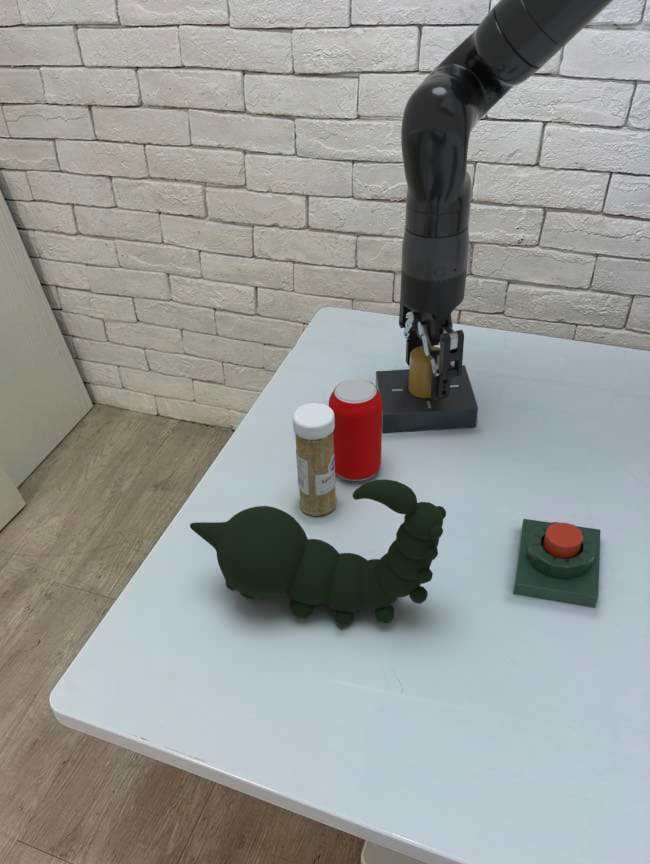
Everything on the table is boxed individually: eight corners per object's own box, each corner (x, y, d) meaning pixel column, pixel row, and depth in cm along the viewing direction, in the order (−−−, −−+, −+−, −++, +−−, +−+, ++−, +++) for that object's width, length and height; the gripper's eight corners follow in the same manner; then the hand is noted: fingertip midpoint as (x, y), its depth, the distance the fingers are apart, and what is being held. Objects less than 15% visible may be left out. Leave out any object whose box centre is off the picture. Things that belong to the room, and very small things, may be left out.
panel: (462, 383, 111) (465, 363, 108) (475, 427, 104) (478, 407, 101) (375, 389, 112) (375, 370, 109) (382, 433, 105) (383, 413, 102)
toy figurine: (425, 593, 87) (207, 547, 92) (457, 460, 73) (199, 415, 78) (413, 662, 81) (180, 609, 86) (445, 531, 67) (165, 477, 72)
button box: (521, 529, 90) (525, 506, 88) (597, 540, 88) (604, 517, 85) (512, 594, 84) (517, 572, 81) (594, 608, 81) (602, 585, 79)
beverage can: (379, 486, 97) (381, 405, 89) (328, 485, 99) (325, 405, 90) (381, 454, 102) (383, 374, 93) (332, 453, 103) (330, 374, 94)
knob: (402, 383, 107) (404, 348, 103) (433, 376, 107) (436, 340, 103) (416, 401, 104) (419, 365, 100) (448, 393, 104) (451, 357, 100)
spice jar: (336, 517, 94) (334, 425, 85) (297, 517, 95) (291, 426, 86) (336, 491, 98) (334, 400, 88) (299, 491, 98) (293, 401, 89)
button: (544, 531, 85) (547, 519, 84) (580, 537, 84) (583, 525, 83) (542, 555, 83) (544, 543, 82) (579, 561, 82) (582, 549, 80)
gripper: (492, 282, 89) (477, 403, 100) (439, 231, 99) (431, 346, 110) (428, 297, 88) (420, 417, 99) (382, 244, 98) (380, 358, 109)
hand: (426, 380), depth 105 cm, fingers open, 8 cm apart
